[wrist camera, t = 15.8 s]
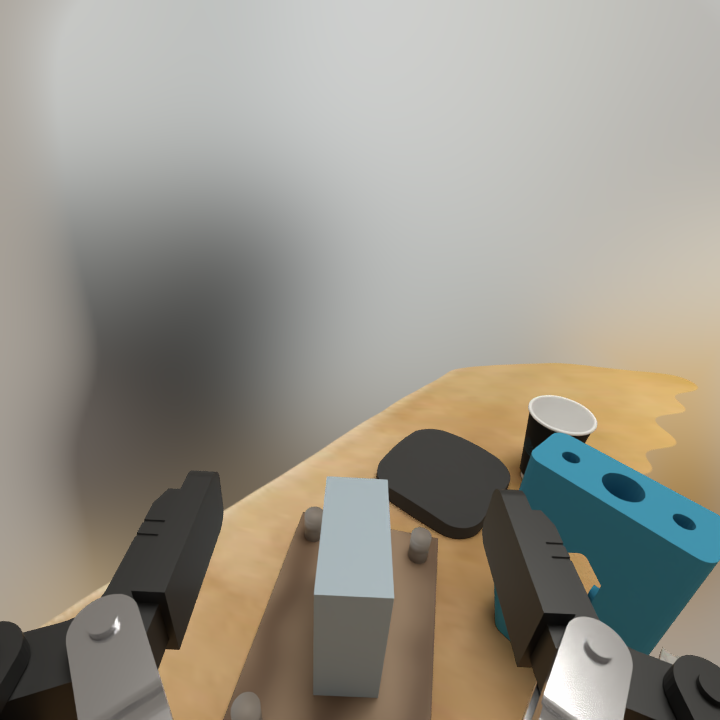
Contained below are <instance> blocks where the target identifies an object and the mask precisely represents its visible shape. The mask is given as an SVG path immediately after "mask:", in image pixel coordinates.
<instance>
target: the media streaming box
mask: <svg viewBox="0 0 720 720" xmlns="http://www.w3.org/2000/svg"><path fill="white" fill-rule="evenodd" d="M377 479H384V480H388V495H389V501H390V502H392V503H393V504H395V505H396V506H398V507H399V508H400V509H402V510H403V511H405V512H406V513H408V514H409V515H411V516H412V517H414V518H416V519H417V520H419V521H420V522H422V523H424V524H425V525H427V526H428V527H430V528H432V529H433V530H435V531H437V532H439V533H440V534H442V535H444V536H447V537H450V538H455V539H465V538H469V537H472V536H474V535H476V534H477V533H478V532H479V531H480V530H481V528H482V527H483V523H484V520H485V516H486V513H487V510H488V507H489V504H490V500H491V497H492V494H493V492H494V490H495V489H506V490H507V488H508V485H509V482H510V474H509V471H508V469H507V468H506V466H505V465H504V464H503V463H502V462H501V461H500V460H499V459H498V458H497V457H495V456H494V455H492V454H491V453H489V452H487V451H486V450H484V449H482V448H481V447H479V446H477V445H475V444H473V443H471V442H469V441H467V440H465V439H463V438H461V437H459V436H456V435H454V434H451V433H448V432H445V431H442V430H436V429H423V430H418V431H415V432H413V433H412V434H410V435H409V436H407V437H406V438H404V439H403V440H402V441H401V442H399V443H398V444H397V445H396V446H395V447H394V448H393V449H392V450H391V451H390V452H389V453H388V454H387V455H386V456H385V457H384V458H383V459H382V460H381V461H380V463H379V465H378V470H377Z"/></svg>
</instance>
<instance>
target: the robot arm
mask: <svg viewBox="0 0 720 720" xmlns="http://www.w3.org/2000/svg"><path fill="white" fill-rule="evenodd" d="M222 521H223V502H222V493H221V485H220V477H219V474H218V472H208V471H190V472H189V473H188V475H187V477H186V479H185V481H184V483H183V485H182V487H181V489H168V490H167V491H165V492H164V493H163V494H162V495H161V496H160V497H159V498H158V499H157V500H156V501H155V502H154V503H153V504H152V506H151V508H150V510H149V512H148V514H147V515H146V518H145V520H144V523H142V525H141V527H140V528H139V530H138V532H137V536H136V537H135V538H134V540H133V541H132V543H131V545H130V547H129V549H128V551H127V553H126V554H125V556H124V558H123V560H122V562H121V564H120V566H119V567H118V569H117V571H116V573H115V575H114V577H113V579H112V580H111V582H110V584H109V586H108V588H107V589H106V591H105V593H104V594H103V595H102V596H101V598H99V599H97V600H95V601H93V602H91V603H90V604H89V605H87V606H86V607H85V608H84V609H82V610H81V611H80V612H79V613H78V615H77V616H76V617H75V618H72V619H70V620H68V621H65V622H62V623H58V624H54V625H50V626H46V627H43V628H39V629H35V630H31V631H27V632H24V633H23V632H22V631H21V629H20V628H19V627H18V626H17V625H16V624H14V623H11V622H6V621H1V622H0V720H173V717H172V714H171V710H170V707H169V704H168V701H167V697H166V694H165V691H164V688H163V684H162V681H161V678H160V674H159V671H158V668H159V665H160V663H161V660H162V657H163V655H164V652H165V649H174V650H180V647H181V644H182V641H183V638H184V635H185V632H186V629H187V626H188V623H189V620H190V617H191V615H192V612H193V609H194V606H195V603H196V600H197V597H198V594H199V591H200V588H201V585H202V583H203V580H204V577H205V574H206V571H207V568H208V565H209V562H210V559H211V556H212V553H213V550H214V548H215V545H216V542H217V539H218V536H219V533H220V530H221V526H222ZM482 536H483V544H484V548H485V552H486V556H487V559H488V563H489V566H490V570H491V574H492V577H493V581H494V584H495V588H496V591H497V595H498V599H499V602H500V606H501V609H502V613H503V617H504V620H505V624H506V627H507V631H508V635H509V638H510V642H511V645H512V649H513V653H514V656H515V660H516V663H517V667H532V668H533V671H534V674H535V678H536V683H535V685H534V687H533V690H532V693H531V695H530V698H529V701H528V704H527V707H526V709H525V712H524V715H523V718H522V720H720V668H719V667H718V666H717V665H715V664H713V663H712V662H710V661H708V660H706V659H704V658H701V657H698V656H693V655H685V656H681V657H679V658H678V659H677V660H676V661H675V662H674V664H671V663H668V662H665V661H663V660H660V659H657V658H654V657H652V656H649V655H646V654H644V653H641V652H638V651H636V650H634V649H632V648H630V647H628V646H626V644H625V643H624V641H623V640H622V639H621V637H620V636H619V635H618V634H617V633H616V632H615V631H614V630H613V629H611V628H610V627H609V626H607V625H606V624H605V623H603V622H601V621H600V620H599V618H598V616H597V614H596V612H595V610H594V608H593V606H592V604H591V601H590V599H589V597H588V595H587V593H586V591H585V589H584V586H583V584H582V582H581V580H580V578H579V576H578V573H577V571H576V569H575V567H574V565H573V563H572V561H570V556H569V554H568V552H567V550H566V548H565V546H563V541H562V539H561V537H560V535H559V533H558V530H557V528H556V526H555V525H554V524H553V523H552V522H551V520H550V519H549V518H548V517H547V516H546V515H545V514H544V513H543V512H542V511H541V510H532V509H531V507H530V505H529V502H528V500H527V498H526V495H525V494H524V492H523V491H521V490H506V489H495V490H494V492H493V494H492V497H491V500H490V504H489V507H488V510H487V513H486V516H485V520H484V523H483V529H482Z"/></svg>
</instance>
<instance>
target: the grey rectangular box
mask: <svg viewBox="0 0 720 720" xmlns="http://www.w3.org/2000/svg"><path fill="white" fill-rule="evenodd" d="M393 603H394V585H393V567H392V549H391V531H390V513H389V495H388V480H384V479H366V478H347V477H328V476H327V480H326V489H325V498H324V507H323V516H322V525H321V534H320V543H319V552H318V561H317V570H316V579H315V588H314V637H313V695H324V696H346V697H368V698H378V694H379V688H380V682H381V676H382V670H383V664H384V658H385V652H386V646H387V640H388V633H389V627H390V621H391V615H392V609H393Z"/></svg>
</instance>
